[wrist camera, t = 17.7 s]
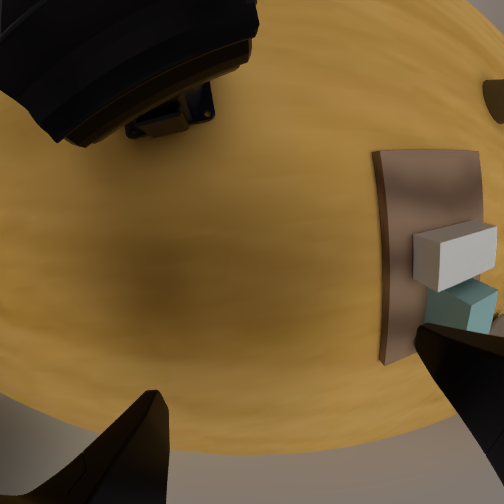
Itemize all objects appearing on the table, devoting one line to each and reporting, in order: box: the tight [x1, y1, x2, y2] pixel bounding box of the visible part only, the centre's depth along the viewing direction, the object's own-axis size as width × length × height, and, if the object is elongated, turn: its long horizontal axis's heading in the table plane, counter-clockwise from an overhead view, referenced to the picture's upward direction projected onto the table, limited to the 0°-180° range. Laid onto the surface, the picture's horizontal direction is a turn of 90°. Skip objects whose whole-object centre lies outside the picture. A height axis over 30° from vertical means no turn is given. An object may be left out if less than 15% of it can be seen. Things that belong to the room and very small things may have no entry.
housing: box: [413, 220, 497, 292], centre depth 19 cm, size 4×9×4 cm, turn 100°
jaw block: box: [424, 278, 498, 334], centre depth 19 cm, size 4×4×6 cm
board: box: [372, 150, 483, 366], centre depth 20 cm, size 20×14×5 cm
